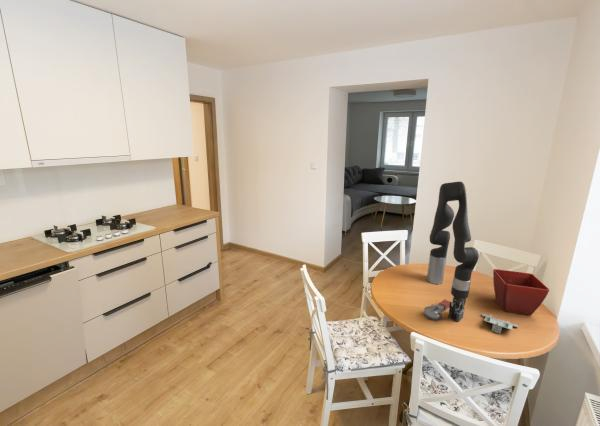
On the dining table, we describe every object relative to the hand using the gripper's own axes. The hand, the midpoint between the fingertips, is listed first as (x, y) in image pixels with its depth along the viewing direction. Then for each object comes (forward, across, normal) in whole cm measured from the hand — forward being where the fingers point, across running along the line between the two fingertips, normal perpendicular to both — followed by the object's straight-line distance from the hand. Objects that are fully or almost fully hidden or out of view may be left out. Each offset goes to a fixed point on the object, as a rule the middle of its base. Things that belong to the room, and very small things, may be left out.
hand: (455, 316), depth 149 cm
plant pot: (+1, -35, +15) cm, 38 cm away
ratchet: (0, +3, -8) cm, 9 cm away
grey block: (0, 0, 0) cm, 0 cm away
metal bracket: (+1, -10, +16) cm, 19 cm away
